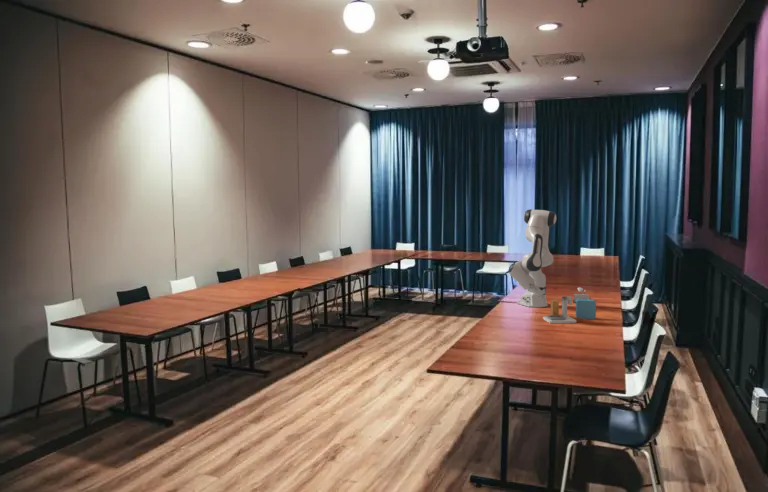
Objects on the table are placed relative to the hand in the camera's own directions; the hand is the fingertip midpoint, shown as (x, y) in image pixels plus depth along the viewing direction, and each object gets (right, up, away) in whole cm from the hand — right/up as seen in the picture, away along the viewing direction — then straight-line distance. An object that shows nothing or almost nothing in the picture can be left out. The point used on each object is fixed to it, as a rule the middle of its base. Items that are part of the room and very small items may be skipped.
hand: (542, 297), depth 370 cm
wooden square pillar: (+9, -12, +2) cm, 15 cm away
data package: (+26, -13, -7) cm, 30 cm away
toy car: (+43, -8, +48) cm, 65 cm away
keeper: (+6, -14, -14) cm, 21 cm away
